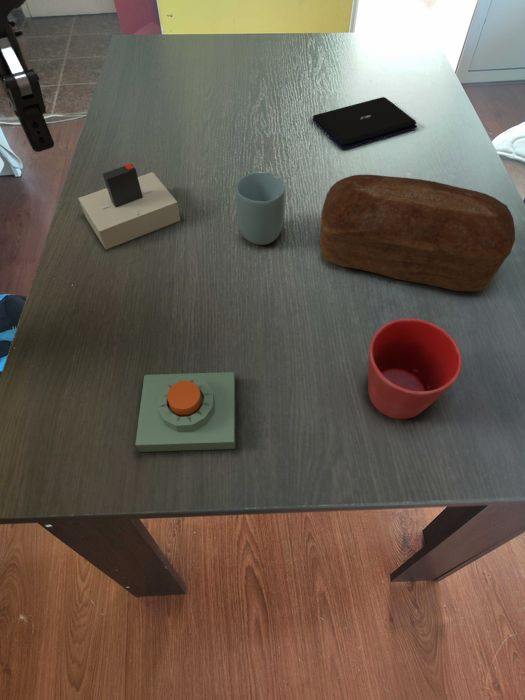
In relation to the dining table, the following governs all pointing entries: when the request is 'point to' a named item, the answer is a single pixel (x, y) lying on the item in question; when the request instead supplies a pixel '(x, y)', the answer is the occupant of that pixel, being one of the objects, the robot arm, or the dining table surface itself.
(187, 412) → the power button
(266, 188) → the cup
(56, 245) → the dining table surface
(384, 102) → the laptop
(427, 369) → the flower pot
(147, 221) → the panel
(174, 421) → the block
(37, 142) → the robot arm
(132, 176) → the knob
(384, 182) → the bread
